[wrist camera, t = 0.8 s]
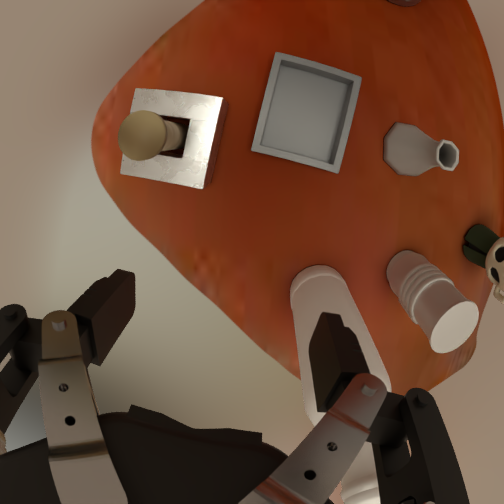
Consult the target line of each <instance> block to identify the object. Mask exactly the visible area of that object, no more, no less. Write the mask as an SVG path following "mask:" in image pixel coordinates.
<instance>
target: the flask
mask: <svg viewBox="0 0 504 504" xmlns="http://www.w3.org/2000/svg"><path fill="white" fill-rule="evenodd" d="M383 160H384V161H385V162H386V163H387V164H388V165H389V166H390V167H391V168H392V169H393V170H394V171H395V172H396V173H397V174H398V175H408V176H418V175H420V174H421V173H423V172H425V171H427V170H429V169H431V168H433V167H437V166H440V167H441V169H443V170H449V171H453V170H454V168H455V167H456V165H457V164H458V162H459V150H458V148H457V147H456V146H455V145H454V143H453V142H451V141H447V140H440V142H438V141H435V140H433V139H432V138H430V137H429V136H428V135H426V134H425V133H424V132H422V131H421V130H420V129H419V128H417V127H416V126H415V125H410V124H404V123H399V122H395V124H394V125H393V126H392V128H391V129H390V130H389V132H388V133H387V134H386V136H385V137H384V158H383Z"/></svg>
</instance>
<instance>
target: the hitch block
mask: <svg viewBox="0 0 504 504" xmlns="http://www.w3.org/2000/svg"><path fill="white" fill-rule="evenodd" d="M228 105H229V104H228V103H227V102H226V101H225V100H224V99H223V98H222V97H215V96H209V95H202V94H195V93H186V92H178V91H167V90H156V89H140V88H136V89H135V93H134V98H133V102H132V107H131V111H130V114H132V113H133V112H136V111H140V110H146V111H151V112H155V113H157V114H158V115H160V116H161V117H162V119H163V120H165V121H167V117H171V118H179V119H186V120H190V124H189V129H188V133H187V138H186V143H185V148H184V153H183V154H177V153H171V152H165V151H161V152H160V153H159V154H158V155H156V156H155V157H153V158H151V159H148V160H143V161H135V160H132V159H129V158H128V157H126V156H125V155H124V154H123V157H122V164H121V172H120V174H124V175H130V176H136V177H142V178H147V179H153V180H158V181H164V182H169V183H174V184H179V185H184V186H189V187H194V188H199V189H204V188H205V187H206V186H207V185H209V184H210V183H211V181H212V176H213V171H214V166H215V162H216V157H217V152H218V148H219V143H220V139H221V134H222V130H223V126H224V122H225V117H226V113H227V109H228Z"/></svg>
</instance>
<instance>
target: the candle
mask: <svg viewBox="0 0 504 504" xmlns="http://www.w3.org/2000/svg"><path fill="white" fill-rule="evenodd" d="M387 279H388V281H389V283H390V288H391V289H392V291H393V292H394V293H395V294H396V295H397V296H398V297H399V302H400V304H401V305H402V307H403V308H404V310H405V311H406V312H407V314H408V315H409V317H410V318H411V320H412V321H413V322H414V323H415V324H419V325H420V327H421V328H422V330H423V331H424V333H425V334H426V336H427V337H428V339H429V343H430V346H431V348H432V349H433V350H434V351H435V352H438V353H446V352H450V351H452V350H454V349H456V348H458V347H459V346H460V345H461V344H463V343H464V342H465V341H466V340H467V339H468V338H469V336H470V335H471V333H472V332H473V330H474V328H475V326H476V324H477V321H478V315H479V312H478V307H477V306H476V304H475V303H474V302H472V301H471V300H468V299H467V298H465V297H464V296H463V295H462V294H461V293H460V292H459V291H458V290H457V289H456V288H455V286H454V283H453V282H452V281H451V279H450V278H448V277H447V276H446V275H445V274H444V273H443V272H442V271H441V270H439V269H438V268H437V267H436V266H435V265H433V264H430V262H429V261H428V260H427V259H426V258H425V257H424V256H423V255H421V254H418V253H415V252H413V251H409V250H406V251H402V252H399V253H398V254H396V255H395V256H394V257H393V258H392V259H391V261H390V263H389V264H388V267H387Z"/></svg>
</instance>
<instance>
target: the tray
mask: <svg viewBox="0 0 504 504" xmlns="http://www.w3.org/2000/svg"><path fill="white" fill-rule="evenodd" d="M361 80H362V77H359V76H356V75H354V74H351V73H348V72H345V71H342V70H339V69H336V68H333V67H330V66H327V65H324V64H321V63H317V62H314V61H310V60H307V59H303V58H299V57H295V56H291V55H287V54H283V53H279V52H276V53H275V56H274V60H273V64H272V68H271V72H270V76H269V80H268V83H267V87H266V91H265V95H264V99H263V103H262V107H261V111H260V115H259V119H258V123H257V128H256V132H255V136H254V140H253V144H252V148H251V151H255V152H259V153H264V154H268V155H272V156H276V157H280V158H284V159H288V160H292V161H295V162H299V163H303V164H307V165H310V166H314V167H317V168H321V169H324V170H327V171H331V172H334V173H337V174H338V173H339V169H340V165H341V162H342V158H343V154H344V151H345V147H346V143H347V139H348V135H349V131H350V127H351V123H352V119H353V115H354V111H355V106H356V102H357V98H358V93H359V89H360V84H361Z"/></svg>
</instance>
